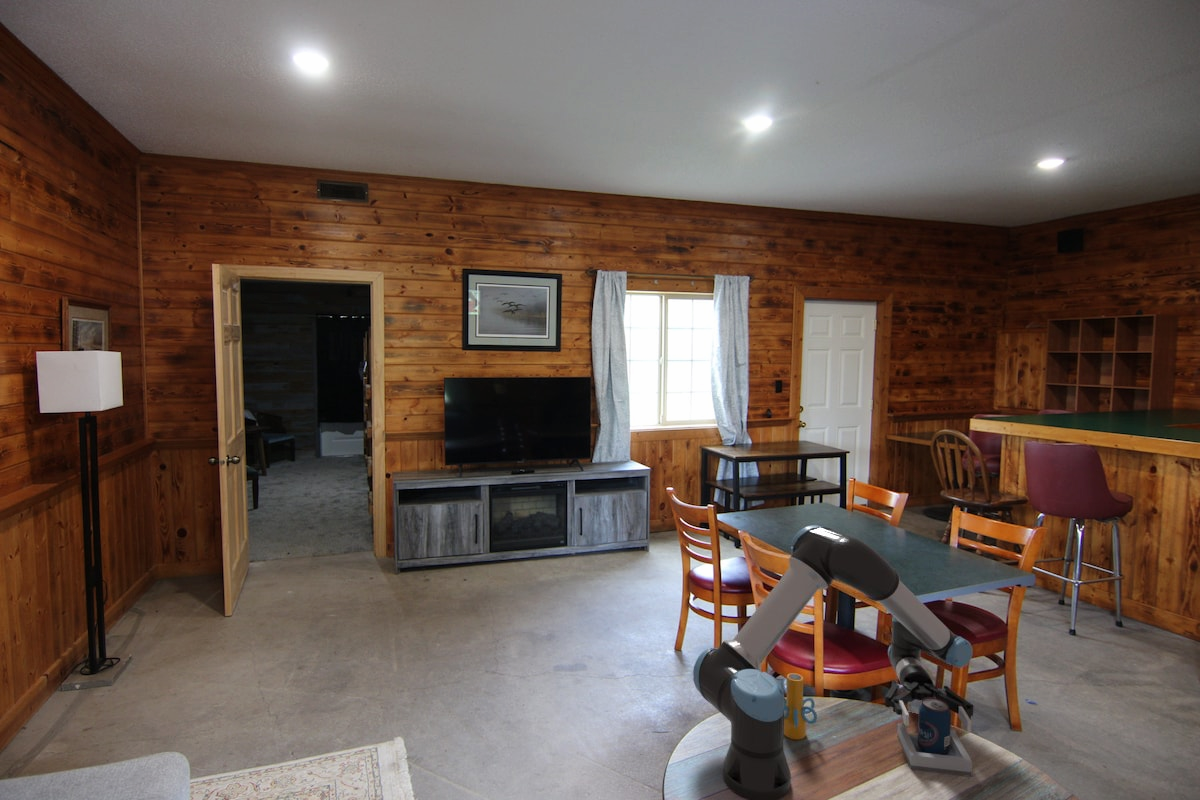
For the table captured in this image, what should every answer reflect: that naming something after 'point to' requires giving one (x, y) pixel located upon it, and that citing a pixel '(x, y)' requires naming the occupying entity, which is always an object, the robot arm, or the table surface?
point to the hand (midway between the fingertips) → (938, 723)
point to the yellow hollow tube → (796, 708)
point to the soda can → (934, 726)
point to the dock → (935, 755)
